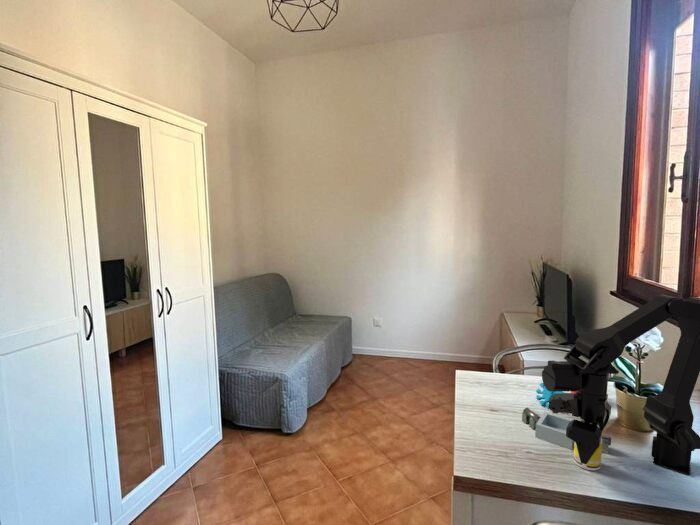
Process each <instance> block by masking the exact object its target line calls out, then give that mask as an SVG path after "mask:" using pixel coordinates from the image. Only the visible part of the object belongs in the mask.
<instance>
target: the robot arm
mask: <svg viewBox="0 0 700 525" xmlns="http://www.w3.org/2000/svg"><path fill="white" fill-rule="evenodd" d="M674 316H676V317H677V324H678V327H679V331H680V336H679V340H678V342H677V346H676V348H675V351H674V354H673V357H672V361H671V364H670V366H669V369H668V372H667V375H666V378H665V381H664V384H663V387H662V389H661V391H660V392H659V393H657V394H656V395H654V396H653V395H651V394H648V395H647V397H646V400H645V404H644V406H643V407H642V411H643V417H644V418H645V420H646V422H647V423H648V426H649V428H650V429H651V430H652V431H654V432H656V435H653V437H652V443H651V444H652V445H651V453H650V454H651V455H650V456H651V457H652V458H653V461H652V463H653V464H655V465H657V466H660V467H663V468H666V469H668V470H671V471H675V472H678V473H680V474H684V475H687V476H691V473H692V472H691V459H692V452H694V451H695V450H700V435H699V434H698V433H697V432H696V431H695V430H694V429H693V425H694V424H693V422H694V420H695V419H694V413H693V410H692V407H691V403H690V402H691V397H692V396H693V392H694V389H695V387H696V384H697V381H698V379H699V376H700V297H699V296H698V297H697V296H690V297H687V298H686V299H685V298H679V297H675V296H670V295H667V294H657V295H655V296H654V297H652V298H651V300H650V301H648V302H647V303H645V304H644V305H642V306H640V307H638V308H637V309H635V310H634V311H632V312H631V313H629V314H627V315H626V316H624V317H622V318H620V319H619V320H617V321H615V322H614V323H613V324H611V325H609V326H606V327H601V328H596V329H592V330H590V331H588V332H585V333H583V334H581V335H579V336H578V337H577V338H576V342H575V344H574V345H573V346H572V347H571V348H570V350H569V351H568V352H567V353H566V355H565V356H563V359H564V361H563V360H561V361H560V360H559V361H557V360H548V361H547V365H545V366H544V367H543V369H542V371H541V381H542V383H543V384H544V386H545V388H546V389H547V390H548V391H550V392H554V391H562V392H564V393H557V394H552V395H551V396H550V398H549V399H548V400H549V402H548V404H549V406H548V407H549V408H548V409H549V410H551V412H552V413H551V414H555V415H557V414H558V415H559V413H563V414H564V413H565V414H566V413H571V416H572V417H576V418H579V419H580V420H579V419H571V420H572V421H570V422H569V424H568V426H567V428H566V436H567V437H568V438H570V439H571V440H573V441H574V442H575V443H576V445H577V449H578V453H579V457H580V461H581V463H583V464H587V463H588V461H589V460H590V458H591V457H592V455H593V454H594V453H595V451H596V450H597V449H598V448H599V446H600V443H601V438H602V435H603V431H604V429H605V427H606V426H607V424H608V422H609V419H610V417H611V414H612V406H611V404H610V403H609V402H608V399H609V394H608V382H609V375H610V374H615V375H618V374H619V373H620V371H619V370H618V369H617V368H616V367H615V366H614V365H613V364H612V363H613V362H615V361H616V360H617V359H618V358H619V357H620V356H621V355H622V354H623V353H624V350H625V348H626V346H628V345H629V344H630V343H631V342H633V341H634V340H636V339H638V338H640V337H641V336H643V335H644V334H647V333H648V332H650V331H651V330H653V329H654V328H656V327H658V326H659V325H661V324H662V323H664V322H666V321H667V320H669V319H671V318H672V317H674ZM580 357H581V358H584V359H585V360H587V361H588V362H586V361H585V360H583V359H581V358H580ZM571 391H577V392H576V393H571ZM581 420H585V421H584V422H582V421H581ZM597 425H599V427H598V426H597Z"/></svg>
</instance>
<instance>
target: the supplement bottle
mask: <svg viewBox="0 0 700 525" xmlns="http://www.w3.org/2000/svg"><path fill="white" fill-rule="evenodd" d="M580 421H582V422H584V421H585V420H582V419H580ZM597 426H598V427H599V425H597ZM602 453H603V452H602V438H601V443H600V446H599V448H598V449H597V450H596V451H595V453H594V454H593V455H592V457H591V458H590V460H589V461H588V463H587V464H583V463H581V461H580V457H579V453H578V449H577V445H576V443H574V446H573V461H574V463H575V464H576V465H577V466H579V467H580V468H582V469H584V470H588V471H598V470H599V469H601V466H602V465H601V464H602V463H601V462H602Z"/></svg>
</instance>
